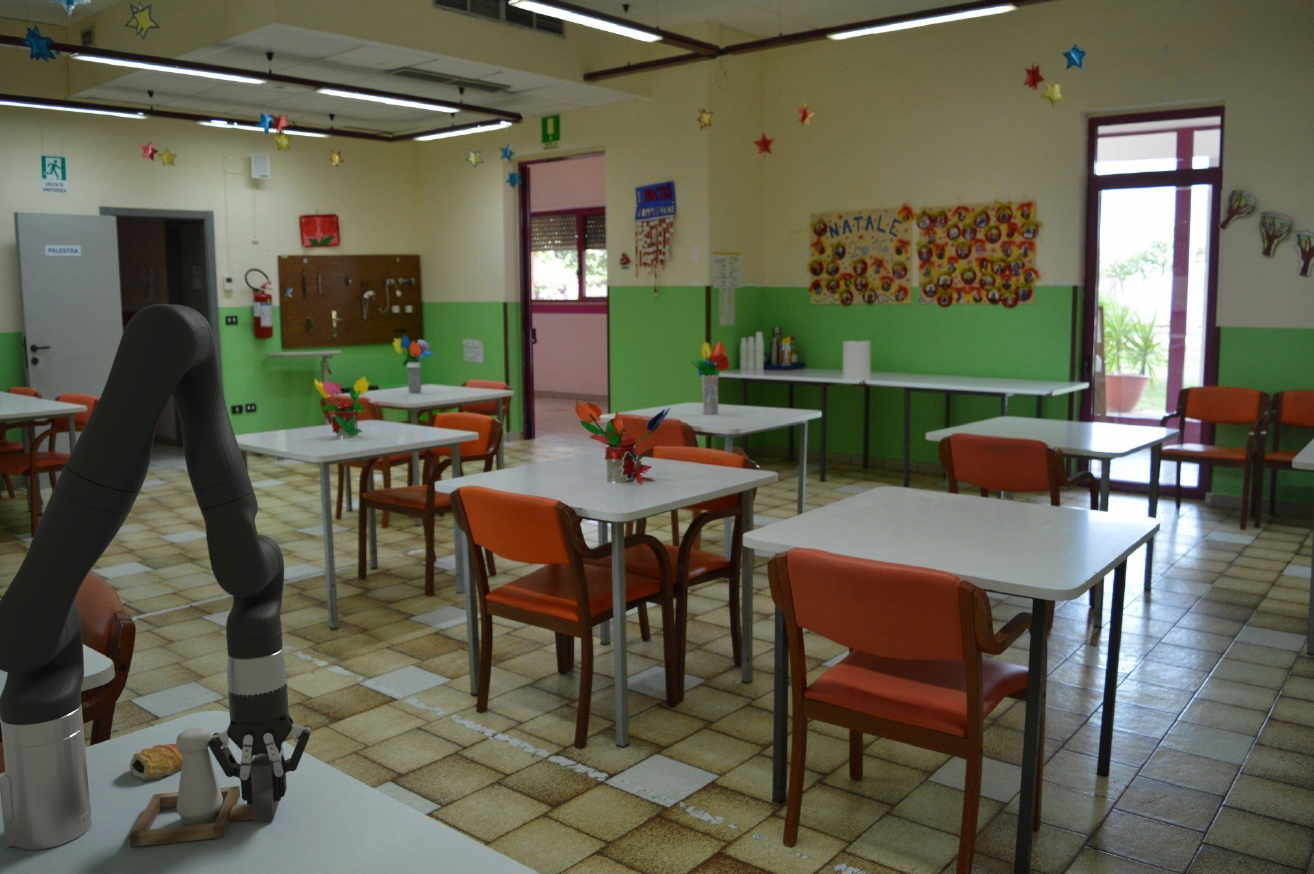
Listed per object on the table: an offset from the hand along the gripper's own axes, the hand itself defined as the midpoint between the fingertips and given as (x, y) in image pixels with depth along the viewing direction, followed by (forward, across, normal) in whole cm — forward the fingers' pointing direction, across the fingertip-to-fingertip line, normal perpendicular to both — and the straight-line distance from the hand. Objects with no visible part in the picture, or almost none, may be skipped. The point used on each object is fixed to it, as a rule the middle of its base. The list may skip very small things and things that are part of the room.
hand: (265, 799), depth 139 cm
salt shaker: (+2, -8, 0) cm, 9 cm away
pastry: (+3, -18, +18) cm, 26 cm away
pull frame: (+2, -7, 0) cm, 8 cm away
